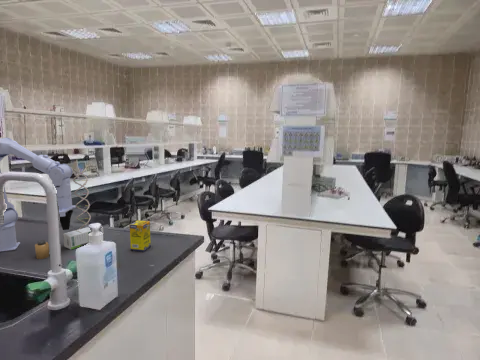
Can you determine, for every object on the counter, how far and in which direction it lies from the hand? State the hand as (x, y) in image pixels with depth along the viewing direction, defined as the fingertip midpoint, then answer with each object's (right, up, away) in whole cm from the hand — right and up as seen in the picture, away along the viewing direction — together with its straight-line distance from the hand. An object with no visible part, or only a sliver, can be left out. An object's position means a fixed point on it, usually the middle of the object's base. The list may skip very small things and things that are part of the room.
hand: (66, 229), depth 124 cm
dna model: (-4, -5, +23) cm, 24 cm away
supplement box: (+29, -8, +3) cm, 30 cm away
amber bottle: (-6, -10, -5) cm, 12 cm away
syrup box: (-1, -5, +2) cm, 6 cm away
